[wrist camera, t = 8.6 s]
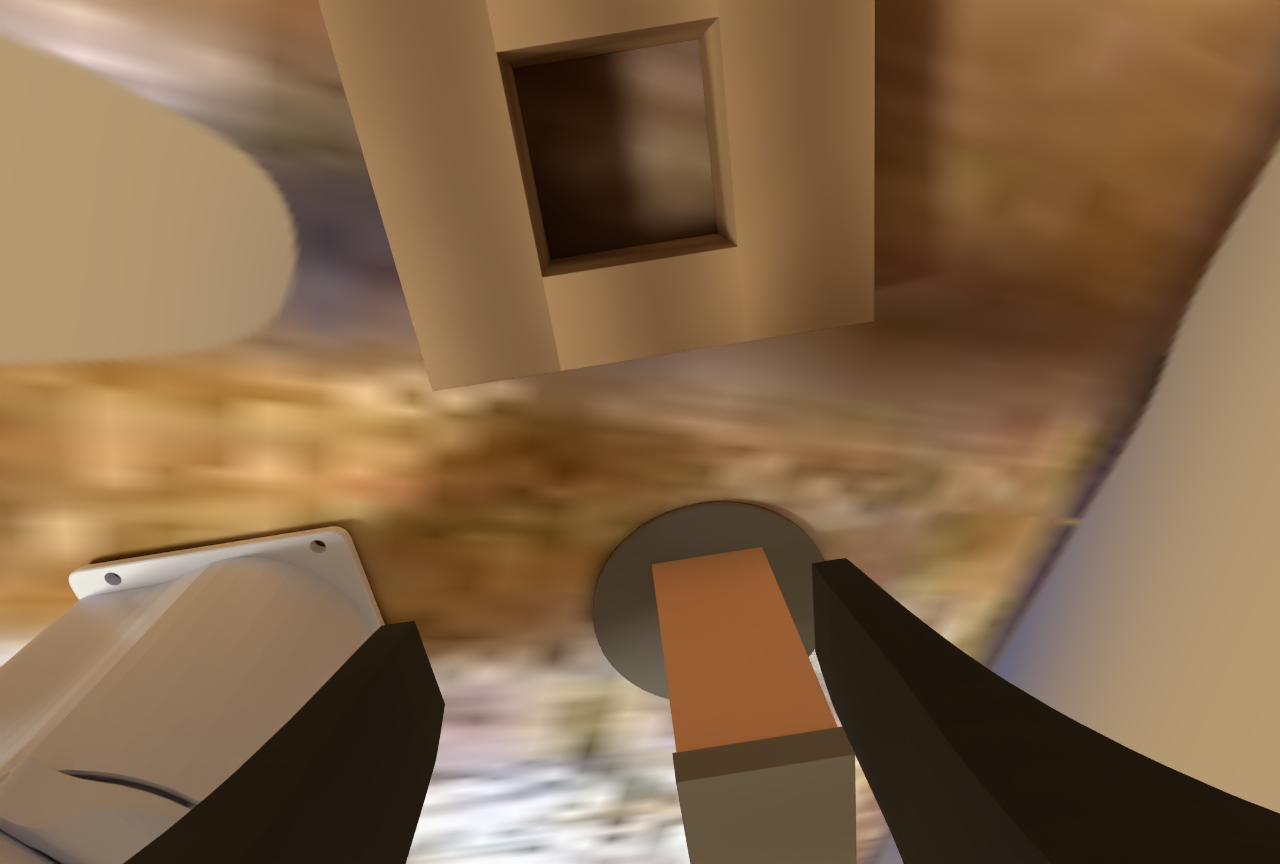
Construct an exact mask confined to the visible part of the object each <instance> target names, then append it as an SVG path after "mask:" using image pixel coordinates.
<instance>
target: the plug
mask: <svg viewBox="0 0 1280 864" xmlns="http://www.w3.org/2000/svg"><path fill="white" fill-rule="evenodd" d="M652 571H653V578H654V586H655V593H656V601H657V609H658V616H659V624H660V631H661V639H662V646H663V654H664V661H665V669H666V676H667V684H668V691H669V699H670V706H671V714H672V721H673V729H674V736H675V744H676V752H677V753H673V761H674V769H675V777H676V784H677V790H678V796H679V802H680V807H681V813H682V819H683V824H684V830H685V836H686V841H687V847H688V853H689V858H690V864H856V794H855V754H854V751H853V749H852V747H851V744H850V742H849V740H848V737H847V735H846V733H845V731H844V729H843V727H837V724H836V722H835V720H834V717H833V715H832V712H831V710H830V708H829V705H828V703H827V700H826V698H825V696H824V693H823V691H822V689H821V686H820V684H819V681H818V679H817V677H816V674H815V672H814V669H813V667H812V665H811V662H810V660H809V658H808V655H807V653H806V650H805V648H804V646H803V643H802V641H801V638H800V636H799V634H798V631H797V629H796V627H795V624H794V622H793V619H792V617H791V615H790V612H789V610H788V607H787V605H786V603H785V600H784V598H783V596H782V593H781V591H780V588H779V586H778V584H777V581H776V579H775V576H774V574H773V572H772V569H771V567H770V565H769V562H768V560H767V557H766V555H765V553H764V550H763V548H762V547H758V548H752V549H745V550H739V551H733V552H726V553H720V554H714V555H707V556H701V557H695V558H688V559H682V560H676V561H669V562H663V563H656V564H652Z"/></svg>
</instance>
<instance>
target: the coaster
mask: <svg viewBox="0 0 1280 864" xmlns="http://www.w3.org/2000/svg"><path fill="white" fill-rule="evenodd" d="M758 547H762V548H763V550H764V553H765V555H766V557H767V560H768V562H769V565H770V567H771V569H772V572H773V574H774V576H775V579H776V581H777V584H778V586H779V588H780V591H781V593H782V596H783V598H784V600H785V603H786V605H787V607H788V610H789V612H790V615H791V617H792V619H793V622H794V624H795V627H796V629H797V631H798V634H799V636H800V638H801V641H802V643H803V646H804V648H805V650H806V653H807V655H808V657H809V656H810V654H811V653H812V652H813V650H814V649H815V632H814V608H813V584H812V563H816V562H823V561H824V559H823V557H822V555H821V553H820V551H819V550H818V548H817V547H816V545H815V544H814V543H813V541H812V540H811V539H810V538H809V537H808V535H807V534H806V533H805V532H804V531H803V530H802V529H800V528H799V527H798V526H797V525H795V524H794V523H793V522H791V521H790V520H788V519H786V518H785V517H783V516H781V515H779V514H777V513H775V512H772V511H770V510H767V509H765V508H762V507H758V506H754V505H750V504H744V503H737V502H708V503H699V504H694V505H690V506H685V507H681V508H678V509H676V510H673V511H670V512H667V513H665V514H663V515H661V516H658V517H656V518H654V519H652V520H651V521H649V522H647V523H646V524H644V525H643V526H641V527H639V528H638V529H637V530H636V531H634V532H633V533H632V534H631V535H629V536H628V537H627V538H626V539H625V540H624V541H623V542H622V543H621V544H620V545H619V546H618V547H617V548H616V549H615V551H614V552H613V554H612V555H611V556H610V558H609V559H608V560H607V562H606V564H605V566H604V568H603V570H602V572H601V574H600V577H599V579H598V582H597V585H596V590H595V595H594V608H593V620H594V627H595V633H596V636H597V639H598V642H599V645H600V647H601V649H602V651H603V653H604V655H605V656H606V658H607V659H608V660H609V662H610V663H611V665H612V666H613V667H614V668H615V669H616V670H617V671H618V672H619V673H620V674H621V675H622V676H623V677H625V678H626V679H627V680H628V681H630V682H631V683H633V684H634V685H636V686H638V687H639V688H641V689H643V690H645V691H647V692H650V693H652V694H654V695H657V696H660V697H663V698H667V699H669V691H668V684H667V676H666V669H665V661H664V654H663V646H662V639H661V631H660V624H659V616H658V609H657V601H656V593H655V586H654V578H653V571H652V564H656V563H663V562H669V561H676V560H682V559H688V558H695V557H701V556H707V555H714V554H720V553H726V552H733V551H739V550H745V549H752V548H758Z"/></svg>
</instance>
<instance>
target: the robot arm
mask: <svg viewBox="0 0 1280 864" xmlns="http://www.w3.org/2000/svg"><path fill="white" fill-rule="evenodd" d="M315 540H320V541H322V542H324V544H325V545H326V547H321V546H319V545H317V544H316V542H315ZM114 573H115V574H118V575H119V576H120V577H121V578H119V577H117V576H115V575H114ZM69 583H70V586H71V587H72V589H73V590H74V592H75V594H76V595H77V597H78V599H79V600H78V601H77V602H76V603H75V604H73V605H72V606H71V607H70V608H69V609H68V610H66V611H65V612H64V613H63V614H62V615H61V616H59V617H58V618H57V619H56V620H55V621H54V622H52V623H51V624H50V625H49V626H48V627H47V628H46V629H44V630H43V631H42V632H41V633H40V634H39V635H37V636H36V637H35V638H34V639H33V640H32V641H30V642H29V643H28V644H27V645H26V646H25V647H23V648H22V649H21V650H20V651H19V652H18V653H16V654H15V655H14V656H13V657H12V658H11V659H10V660H8V661H7V662H6V663H5V664H4V665H3V666H1V667H0V864H406V861H407V857H408V854H409V850H410V847H411V844H412V840H413V837H414V834H415V830H416V827H417V824H418V820H419V817H420V814H421V810H422V807H423V803H424V800H425V797H426V793H427V790H428V786H429V783H430V779H431V776H432V772H433V769H434V765H435V761H436V756H437V751H438V745H439V739H440V733H441V727H442V720H443V713H444V707H445V703H444V700H443V698H442V695H441V692H440V690H439V687H438V684H437V681H436V679H435V676H434V673H433V670H432V668H431V665H430V662H429V659H428V657H427V654H426V651H425V649H424V646H423V643H422V640H421V638H420V635H419V632H418V629H417V627H416V624H415V621H410V622H403V623H396V624H390V625H385V624H384V621H383V619H382V616H381V614H380V611H379V608H378V606H377V603H376V601H375V598H374V595H373V593H372V590H371V588H370V585H369V582H368V580H367V577H366V575H365V572H364V569H363V567H362V564H361V562H360V559H359V556H358V554H357V551H356V549H355V546H354V543H353V541H352V538H351V536H350V534H349V533H348V532H347V531H346V530H345V529H343V528H341V527H338V526H331V527H324V528H318V529H312V530H305V531H299V532H293V533H286V534H280V535H274V536H267V537H261V538H255V539H248V540H242V541H236V542H229V543H223V544H217V545H210V546H204V547H198V548H191V549H185V550H179V551H172V552H166V553H160V554H153V555H147V556H140V557H134V558H128V559H121V560H115V561H109V562H102V563H96V564H90V565H84V566H81V567H79V568H77V569H76V570H75V571H74V572H72V574H71V575H70V576H69ZM812 584H813V608H814V632H815V652H816V655H817V658H818V661H819V664H820V668H821V671H822V674H823V677H824V680H825V683H826V686H827V689H828V692H829V695H830V698H831V701H832V704H833V706H834V709H835V711H836V713H837V715H838V718H839V720H840V722H841V724H842V726H843V729H844V731H845V733H846V735H847V737H848V740H849V742H850V744H851V746H852V748H853V751H854V753H855V755H856V757H857V759H858V761H859V764H860V766H861V768H862V770H863V772H864V774H865V777H866V779H867V781H868V783H869V785H870V788H871V790H872V792H873V794H874V796H875V798H876V801H877V803H878V805H879V807H880V809H881V811H882V814H883V816H884V818H885V820H886V822H887V824H888V827H889V829H890V831H891V834H892V836H893V838H894V841H895V843H896V846H897V848H898V850H899V853H900V855H901V858H902V860H903V863H904V864H1280V814H1279V813H1277V812H1274V811H1272V810H1269V809H1266V808H1264V807H1261V806H1259V805H1256V804H1254V803H1251V802H1248V801H1245V800H1243V799H1241V798H1238V797H1236V796H1233V795H1231V794H1229V793H1226V792H1224V791H1221V790H1219V789H1217V788H1215V787H1212V786H1210V785H1208V784H1205V783H1203V782H1201V781H1199V780H1196V779H1194V778H1192V777H1190V776H1187V775H1185V774H1183V773H1181V772H1178V771H1176V770H1174V769H1171V768H1169V767H1167V766H1165V765H1163V764H1161V763H1158V762H1156V761H1154V760H1152V759H1150V758H1148V757H1146V756H1144V755H1142V754H1139V753H1137V752H1135V751H1133V750H1131V749H1129V748H1127V747H1125V746H1123V745H1121V744H1119V743H1117V742H1115V741H1113V740H1111V739H1109V738H1107V737H1105V736H1103V735H1102V734H1100V733H1098V732H1096V731H1094V730H1092V729H1090V728H1088V727H1086V726H1084V725H1082V724H1080V723H1078V722H1076V721H1075V720H1073V719H1071V718H1069V717H1067V716H1066V715H1064V714H1062V713H1060V712H1058V711H1056V710H1055V709H1053V708H1051V707H1049V706H1048V705H1046V704H1044V703H1043V702H1041V701H1039V700H1038V699H1036V698H1034V697H1033V696H1031V695H1029V694H1028V693H1026V692H1024V691H1023V690H1021V689H1019V688H1018V687H1016V686H1014V685H1013V684H1011V683H1009V682H1007V681H1006V680H1004V679H1003V678H1001V677H1000V676H998V675H997V674H995V673H994V672H992V671H990V670H989V669H987V668H986V667H984V666H983V665H982V664H980V663H979V662H977V661H976V660H974V659H973V658H971V657H970V656H969V655H967V654H966V653H964V652H963V651H961V650H960V649H959V648H957V647H956V646H954V645H953V644H952V643H950V642H949V641H948V640H946V639H945V638H944V637H942V636H941V635H940V634H938V633H937V632H936V631H934V630H933V629H932V628H931V627H929V626H928V625H927V624H925V623H924V622H923V621H921V620H920V619H919V618H918V617H916V616H915V615H914V614H912V613H911V612H910V611H909V610H907V609H906V608H905V607H904V606H903V605H901V604H900V603H899V602H898V601H896V600H895V599H894V598H893V597H892V596H890V595H889V594H888V593H887V592H886V591H884V590H883V589H882V588H881V587H880V586H879V585H877V584H876V583H875V582H874V581H873V580H871V579H870V578H869V577H868V576H867V575H866V574H864V573H863V572H862V571H861V570H860V569H859V568H857V567H856V566H855V565H854V564H853V563H851V562H850V561H849V560H848V559H846V558H843V559H836V560H829V561H823V562H816V563H812Z"/></svg>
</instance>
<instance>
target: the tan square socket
mask: <svg viewBox="0 0 1280 864" xmlns="http://www.w3.org/2000/svg"><path fill="white" fill-rule="evenodd" d="M318 1H319V5H320V8H321V12H322V15H323V18H324V22H325V25H326V29H327V32H328V36H329V39H330V42H331V46H332V49H333V53H334V56H335V59H336V63H337V66H338V70H339V73H340V77H341V80H342V83H343V87H344V90H345V94H346V97H347V100H348V104H349V107H350V111H351V114H352V118H353V121H354V124H355V128H356V131H357V135H358V138H359V141H360V145H361V148H362V152H363V155H364V159H365V162H366V165H367V169H368V172H369V176H370V179H371V182H372V186H373V189H374V193H375V196H376V200H377V203H378V206H379V210H380V213H381V217H382V220H383V223H384V227H385V230H386V234H387V237H388V241H389V244H390V247H391V251H392V254H393V258H394V261H395V264H396V268H397V271H398V275H399V278H400V282H401V285H402V288H403V292H404V295H405V299H406V302H407V305H408V309H409V312H410V316H411V319H412V323H413V326H414V329H415V333H416V336H417V340H418V343H419V346H420V350H421V353H422V357H423V360H424V364H425V367H426V370H427V374H428V377H429V381H430V384H431V387H432V391H437V390H443V389H450V388H456V387H462V386H468V385H475V384H481V383H487V382H494V381H500V380H506V379H513V378H519V377H525V376H532V375H538V374H544V373H551V372H557V371H563V370H570V369H576V368H582V367H589V366H595V365H601V364H608V363H614V362H620V361H627V360H633V359H639V358H646V357H652V356H658V355H665V354H671V353H677V352H684V351H690V350H696V349H703V348H709V347H715V346H722V345H728V344H734V343H741V342H747V341H753V340H760V339H766V338H772V337H778V336H785V335H791V334H797V333H804V332H810V331H816V330H823V329H829V328H835V327H842V326H848V325H854V324H861V323H867V322H873V321H874V131H875V0H318ZM695 39H699V42H700V53H701V64H702V74H703V85H704V96H705V107H706V117H707V128H708V139H709V150H710V160H711V171H712V182H713V193H714V203H715V214H716V225H717V233H716V234H710V235H703V236H697V237H691V238H684V239H678V240H672V241H665V242H659V243H653V244H646V245H640V246H634V247H627V248H621V249H615V250H608V251H602V252H596V253H590V254H583V255H577V256H571V257H564V258H558V259H552V260H550V256H549V251H548V246H547V241H546V236H545V231H544V226H543V221H542V216H541V211H540V206H539V201H538V195H537V190H536V185H535V180H534V175H533V170H532V165H531V160H530V155H529V150H528V145H527V140H526V135H525V129H524V124H523V119H522V114H521V109H520V104H519V99H518V94H517V89H516V84H515V79H514V74H513V69H512V68H519V67H525V66H531V65H538V64H544V63H550V62H557V61H563V60H569V59H575V58H582V57H588V56H594V55H601V54H607V53H613V52H619V51H626V50H632V49H638V48H645V47H651V46H657V45H664V44H670V43H676V42H682V41H689V40H695Z"/></svg>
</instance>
